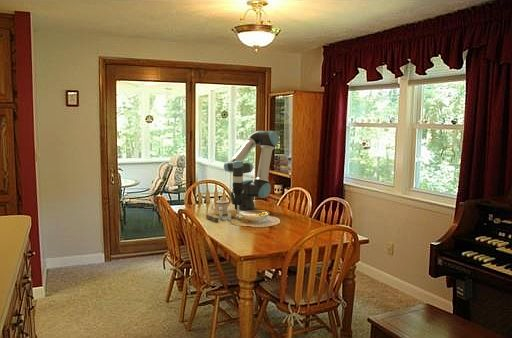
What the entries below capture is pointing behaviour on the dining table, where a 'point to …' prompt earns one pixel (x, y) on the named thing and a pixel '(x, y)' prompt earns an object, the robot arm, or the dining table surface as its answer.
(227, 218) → the lane mark
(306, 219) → the dining table surface
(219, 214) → the pin
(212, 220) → the back wall
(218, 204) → the teacup with lid
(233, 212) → the ball
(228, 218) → the pin
